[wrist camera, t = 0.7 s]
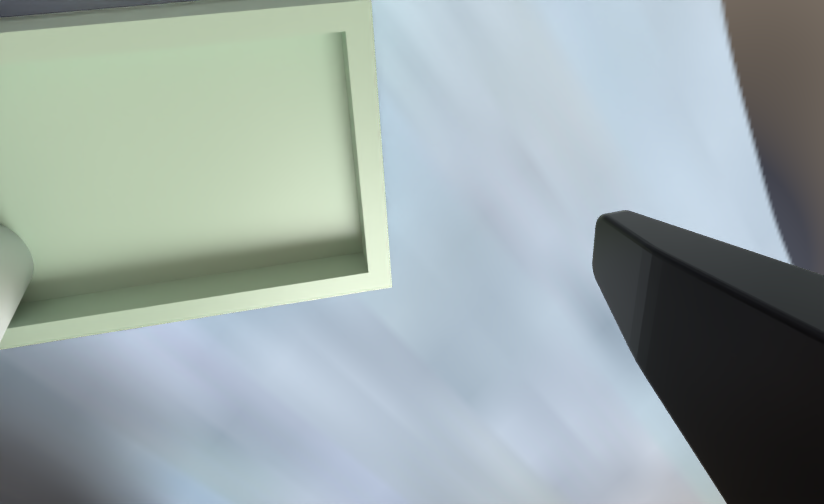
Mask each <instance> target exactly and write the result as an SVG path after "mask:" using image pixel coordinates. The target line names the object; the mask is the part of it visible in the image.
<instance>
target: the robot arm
mask: <svg viewBox="0 0 824 504" xmlns="http://www.w3.org/2000/svg"><path fill="white" fill-rule="evenodd" d="M592 266H593V273H594V276H595V279H596V281H597V283H598V285H599V287H600V289H601V292H602V294H603V296H604V298H605V300H606V302H607V304H608V306H609V308H610V310H611V312H612V314H613V316H614V318H615V320H616V322H617V324H618V326H619V329H620V331H621V333H622V335H623V337H624V339H625V341H626V343H627V345H628V347H629V349H630V351H631V353H632V355H633V357H634V358H635V360H636V362H637V364H638V365H639V367H640V369H641V370H642V372H643V374H644V375H645V377H646V378H647V380H648V382H649V383H650V385H651V386H652V388H653V389H654V391H655V392H656V394H657V396H658V397H659V399H660V400H661V402H662V403H663V405H664V406H665V408H666V410H667V411H668V413H669V414H670V416H671V417H672V419H673V421H674V422H675V424H676V425H677V427H678V428H679V430H680V431H681V433H682V435H683V436H684V438H685V439H686V441H687V442H688V444H689V445H690V447H691V449H692V450H693V452H694V453H695V455H696V456H697V458H698V459H699V461H700V463H701V464H702V466H703V467H704V469H705V470H706V472H707V473H708V475H709V477H710V478H711V480H712V481H713V483H714V484H715V486H716V487H717V489H718V491H719V492H720V494H721V495H722V497H723V498H724V500H725V501H726V503H727V504H824V275H821V274H818V273H815V272H811V271H809V270H806V269H803V268H800V267H797V266H794V265H791V264H788V263H785V262H782V261H779V260H776V259H773V258H770V257H767V256H764V255H761V254H758V253H755V252H752V251H749V250H746V249H743V248H740V247H737V246H734V245H731V244H728V243H725V242H722V241H719V240H716V239H713V238H710V237H707V236H704V235H701V234H698V233H695V232H692V231H689V230H686V229H683V228H680V227H677V226H674V225H671V224H668V223H665V222H662V221H659V220H656V219H653V218H650V217H647V216H644V215H641V214H638V213H635V212H632V211H628V210H622V211H617V212H612V213H606V214H602V215H601V216H600V217H599V218H598V219H597V222H596V227H595V238H594V249H593V260H592Z"/></svg>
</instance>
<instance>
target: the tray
mask: <svg viewBox="0 0 824 504" xmlns="http://www.w3.org/2000/svg"><path fill="white" fill-rule="evenodd" d="M391 287H392V281H391V267H390V253H389V239H388V226H387V212H386V198H385V184H384V170H383V157H382V143H381V129H380V115H379V102H378V88H377V74H376V60H375V47H374V33H373V19H372V5H371V0H198V1H186V2H175V3H163V4H152V5H140V6H129V7H117V8H105V9H94V10H82V11H71V12H59V13H48V14H36V15H24V16H13V17H1V18H0V350H2V349H8V348H15V347H21V346H27V345H33V344H40V343H46V342H52V341H58V340H65V339H71V338H77V337H84V336H90V335H96V334H102V333H109V332H115V331H121V330H127V329H134V328H140V327H146V326H152V325H159V324H165V323H171V322H178V321H184V320H190V319H196V318H203V317H209V316H215V315H221V314H228V313H234V312H240V311H247V310H253V309H259V308H265V307H272V306H278V305H284V304H290V303H297V302H303V301H309V300H315V299H322V298H328V297H334V296H341V295H347V294H353V293H359V292H366V291H372V290H378V289H384V288H391Z"/></svg>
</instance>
